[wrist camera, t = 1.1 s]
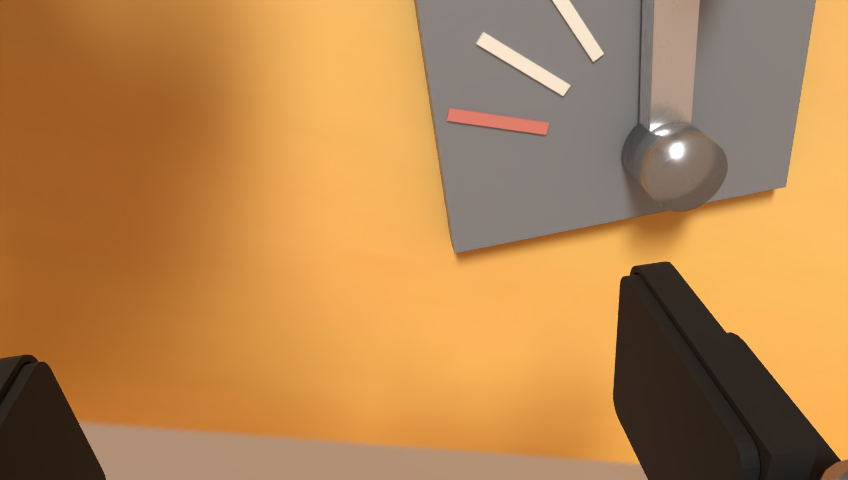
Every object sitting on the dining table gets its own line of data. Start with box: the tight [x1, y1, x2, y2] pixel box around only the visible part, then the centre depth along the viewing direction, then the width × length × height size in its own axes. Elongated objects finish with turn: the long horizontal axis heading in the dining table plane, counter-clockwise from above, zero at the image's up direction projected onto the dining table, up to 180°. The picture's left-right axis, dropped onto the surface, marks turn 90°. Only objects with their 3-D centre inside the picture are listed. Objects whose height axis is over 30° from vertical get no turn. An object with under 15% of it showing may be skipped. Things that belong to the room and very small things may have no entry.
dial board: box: [414, 0, 816, 253], centre depth 38 cm, size 23×22×2 cm
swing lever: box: [622, 0, 728, 211], centre depth 33 cm, size 20×4×8 cm, turn 9°
